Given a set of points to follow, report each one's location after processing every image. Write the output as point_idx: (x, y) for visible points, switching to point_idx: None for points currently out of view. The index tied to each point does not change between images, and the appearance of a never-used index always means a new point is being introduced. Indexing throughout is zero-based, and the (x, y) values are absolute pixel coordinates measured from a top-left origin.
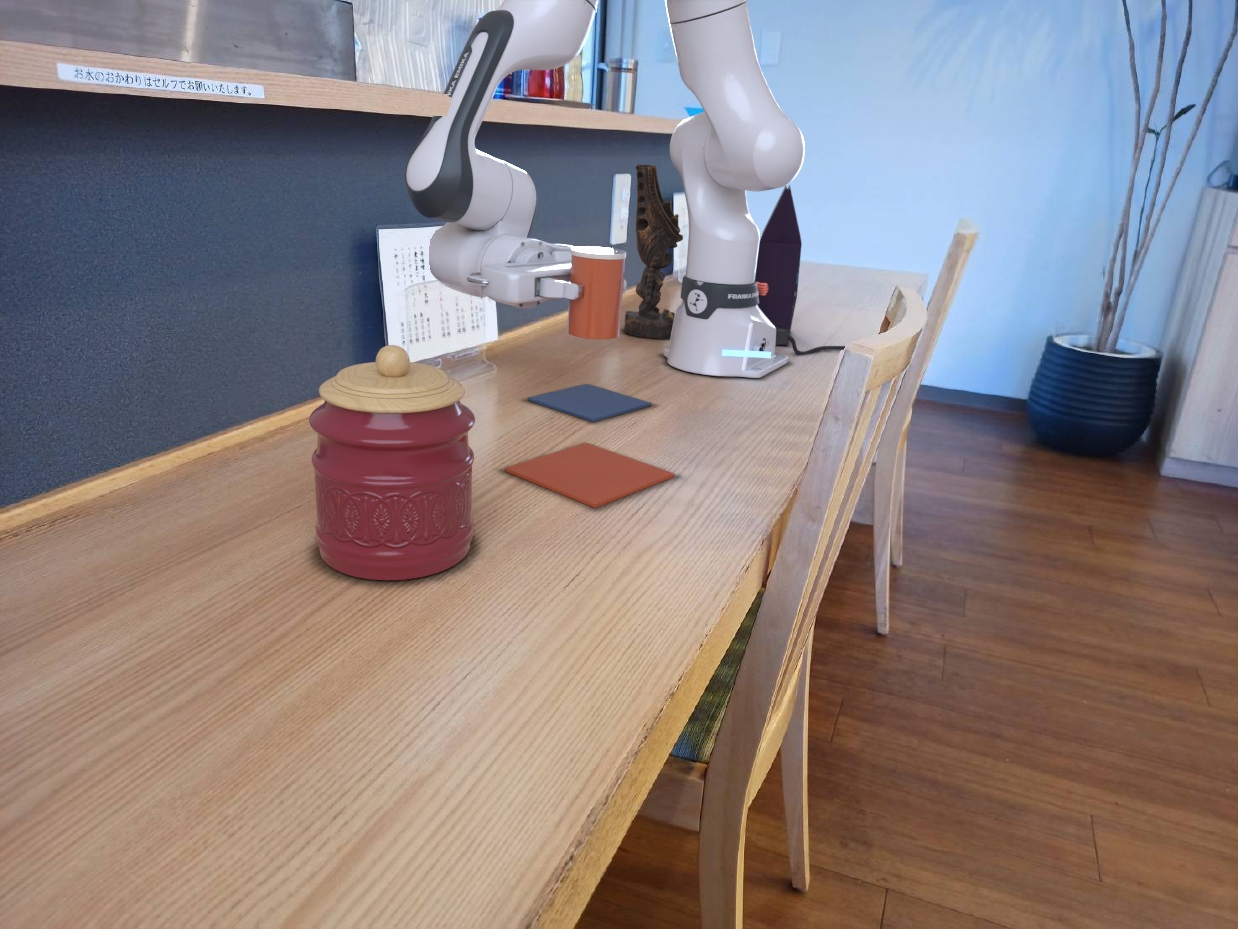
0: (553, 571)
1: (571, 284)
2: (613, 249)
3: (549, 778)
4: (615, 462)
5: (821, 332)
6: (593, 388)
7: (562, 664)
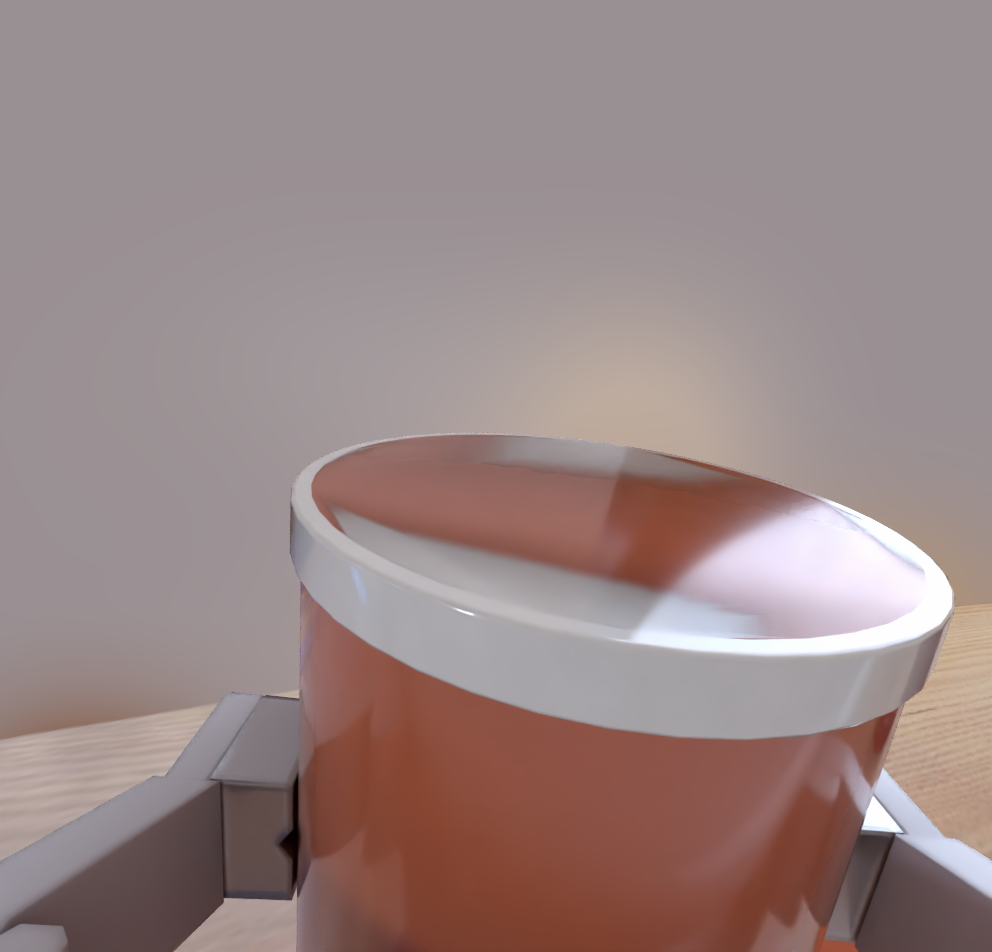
0: (944, 732)
1: (881, 773)
2: (371, 467)
3: (981, 623)
4: None
5: None
6: None
7: (957, 658)
